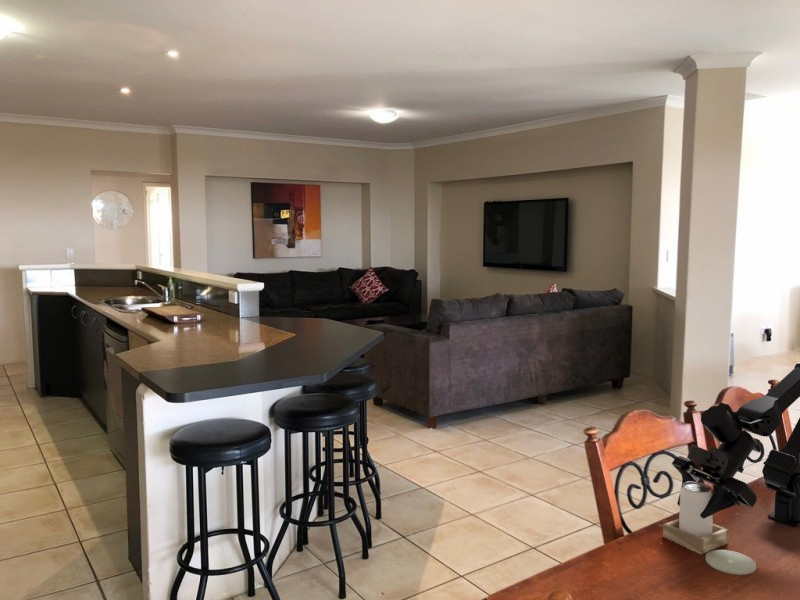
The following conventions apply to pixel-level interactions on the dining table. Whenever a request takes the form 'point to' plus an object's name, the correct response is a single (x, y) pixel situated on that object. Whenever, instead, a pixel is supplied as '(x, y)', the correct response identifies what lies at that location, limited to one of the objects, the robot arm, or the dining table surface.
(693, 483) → the can
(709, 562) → the pale green flat disc
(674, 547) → the dining table surface
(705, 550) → the holder
